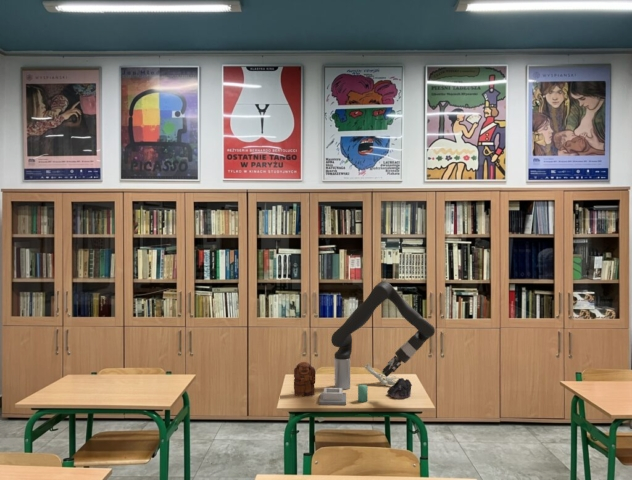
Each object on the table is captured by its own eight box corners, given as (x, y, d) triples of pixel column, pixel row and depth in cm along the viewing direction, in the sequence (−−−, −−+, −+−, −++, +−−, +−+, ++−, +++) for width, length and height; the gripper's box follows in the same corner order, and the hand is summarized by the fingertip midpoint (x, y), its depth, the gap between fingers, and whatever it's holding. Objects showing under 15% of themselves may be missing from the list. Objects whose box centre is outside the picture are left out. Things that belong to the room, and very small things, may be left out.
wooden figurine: (295, 396, 272) (294, 364, 272) (293, 393, 278) (293, 361, 278) (316, 395, 274) (316, 363, 274) (314, 392, 280) (314, 360, 280)
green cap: (358, 399, 267) (357, 384, 267) (367, 399, 266) (367, 384, 266) (358, 402, 262) (358, 387, 262) (367, 402, 261) (367, 387, 261)
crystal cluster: (386, 400, 268) (388, 382, 267) (386, 390, 282) (388, 373, 281) (411, 402, 266) (413, 385, 266) (410, 393, 280) (411, 376, 279)
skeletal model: (407, 388, 288) (376, 359, 288) (396, 399, 288) (365, 370, 289) (402, 380, 304) (373, 352, 305) (392, 391, 305) (362, 363, 305)
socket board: (320, 395, 275) (320, 386, 275) (345, 395, 274) (345, 386, 274) (319, 404, 258) (319, 395, 258) (346, 405, 257) (345, 395, 257)
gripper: (399, 344, 270) (378, 365, 271) (402, 349, 256) (380, 371, 257) (409, 354, 270) (388, 375, 270) (412, 360, 256) (390, 382, 256)
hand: (384, 373), depth 264 cm, fingers open, 8 cm apart
